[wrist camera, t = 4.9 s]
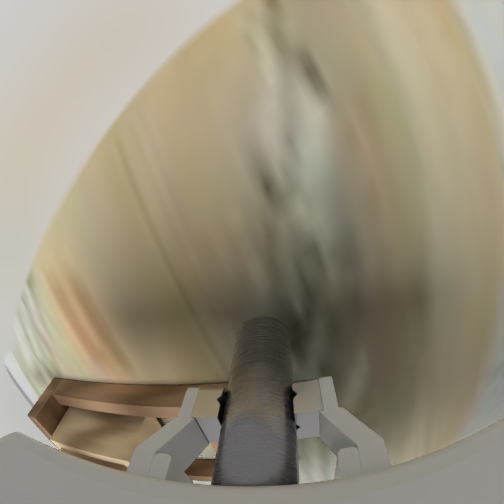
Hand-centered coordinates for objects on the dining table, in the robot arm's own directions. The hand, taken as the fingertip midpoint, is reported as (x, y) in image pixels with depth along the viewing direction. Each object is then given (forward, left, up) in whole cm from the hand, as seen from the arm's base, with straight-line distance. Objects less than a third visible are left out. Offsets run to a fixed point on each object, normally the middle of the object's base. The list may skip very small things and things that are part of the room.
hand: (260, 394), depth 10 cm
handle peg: (0, 0, -4) cm, 4 cm away
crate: (+13, +10, -4) cm, 17 cm away
